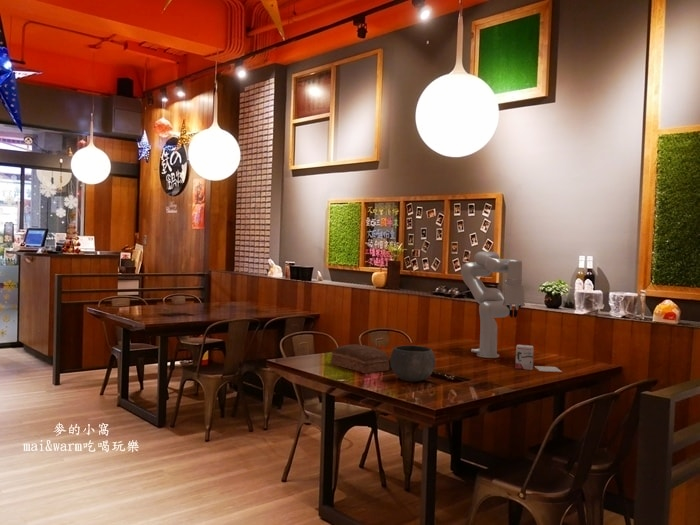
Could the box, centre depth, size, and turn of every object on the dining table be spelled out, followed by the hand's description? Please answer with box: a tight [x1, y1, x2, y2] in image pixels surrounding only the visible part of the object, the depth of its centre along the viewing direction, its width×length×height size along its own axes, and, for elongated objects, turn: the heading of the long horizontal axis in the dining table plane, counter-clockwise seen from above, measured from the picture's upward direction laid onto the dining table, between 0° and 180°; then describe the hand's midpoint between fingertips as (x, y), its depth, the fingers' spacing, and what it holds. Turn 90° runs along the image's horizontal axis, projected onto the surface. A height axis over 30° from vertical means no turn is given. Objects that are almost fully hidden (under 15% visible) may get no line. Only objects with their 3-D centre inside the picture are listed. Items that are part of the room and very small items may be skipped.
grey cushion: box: [330, 344, 390, 374], centre depth 306 cm, size 17×29×11 cm, turn 37°
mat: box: [533, 365, 563, 373], centre depth 312 cm, size 11×12×1 cm
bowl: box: [389, 344, 436, 383], centre depth 277 cm, size 20×20×15 cm
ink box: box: [515, 344, 535, 371], centre depth 312 cm, size 9×5×12 cm, turn 70°
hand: (513, 317), depth 323 cm, fingers closed
